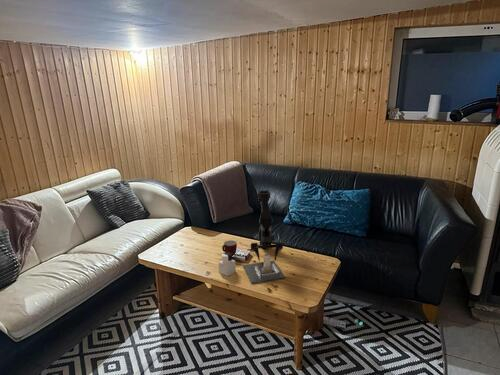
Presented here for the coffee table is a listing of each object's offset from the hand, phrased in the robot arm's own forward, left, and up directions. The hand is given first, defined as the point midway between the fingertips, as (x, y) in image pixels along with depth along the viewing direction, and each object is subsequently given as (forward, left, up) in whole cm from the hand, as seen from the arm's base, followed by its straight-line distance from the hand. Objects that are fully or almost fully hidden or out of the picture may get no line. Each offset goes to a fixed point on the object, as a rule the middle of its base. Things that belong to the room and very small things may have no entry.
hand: (267, 260), depth 188 cm
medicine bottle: (-19, -14, -9) cm, 25 cm away
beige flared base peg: (-1, +1, -8) cm, 8 cm away
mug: (-32, 0, -9) cm, 33 cm away
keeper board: (-3, 0, -9) cm, 9 cm away
